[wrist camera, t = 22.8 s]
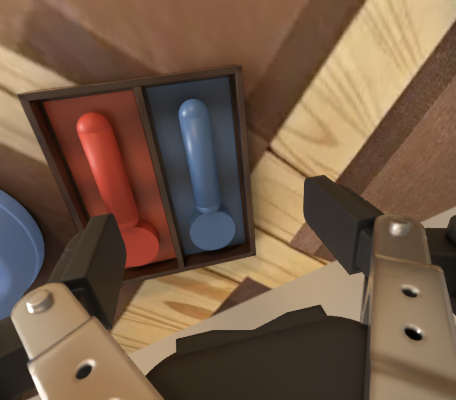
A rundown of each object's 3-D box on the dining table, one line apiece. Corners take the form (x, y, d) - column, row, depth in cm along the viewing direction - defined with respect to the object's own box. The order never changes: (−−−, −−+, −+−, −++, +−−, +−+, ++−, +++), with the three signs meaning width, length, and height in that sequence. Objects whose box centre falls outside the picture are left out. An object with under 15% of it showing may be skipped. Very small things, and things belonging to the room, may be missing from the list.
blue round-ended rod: (162, 101, 25) (161, 105, 23) (217, 93, 26) (222, 96, 23) (192, 245, 33) (195, 260, 30) (234, 236, 34) (240, 250, 31)
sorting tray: (30, 91, 23) (16, 94, 21) (235, 64, 26) (241, 64, 23) (108, 274, 33) (104, 289, 31) (250, 242, 35) (256, 255, 33)
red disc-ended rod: (62, 114, 24) (50, 120, 21) (123, 105, 24) (118, 110, 22) (119, 260, 32) (115, 277, 29) (163, 251, 32) (163, 266, 30)
